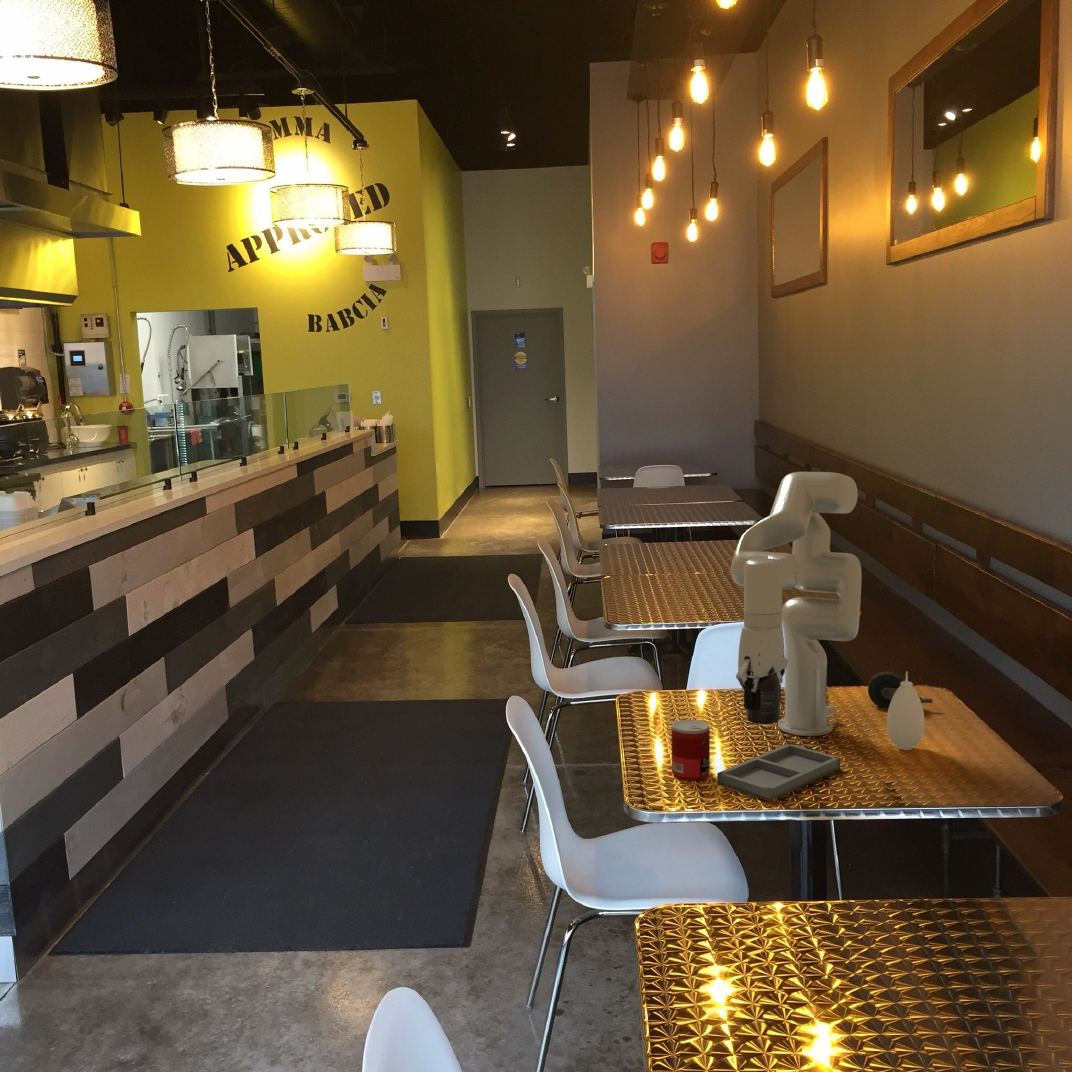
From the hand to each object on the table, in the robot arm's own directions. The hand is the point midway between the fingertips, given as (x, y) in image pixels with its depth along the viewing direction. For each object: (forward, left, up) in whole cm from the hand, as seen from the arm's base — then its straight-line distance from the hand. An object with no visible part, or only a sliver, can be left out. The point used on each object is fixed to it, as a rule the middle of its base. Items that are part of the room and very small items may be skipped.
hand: (762, 704), depth 216 cm
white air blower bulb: (-39, +10, -17) cm, 44 cm away
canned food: (+6, -14, -17) cm, 23 cm away
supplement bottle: (0, 0, -3) cm, 3 cm away
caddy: (-6, 0, -17) cm, 18 cm away
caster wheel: (-65, -6, -17) cm, 68 cm away
